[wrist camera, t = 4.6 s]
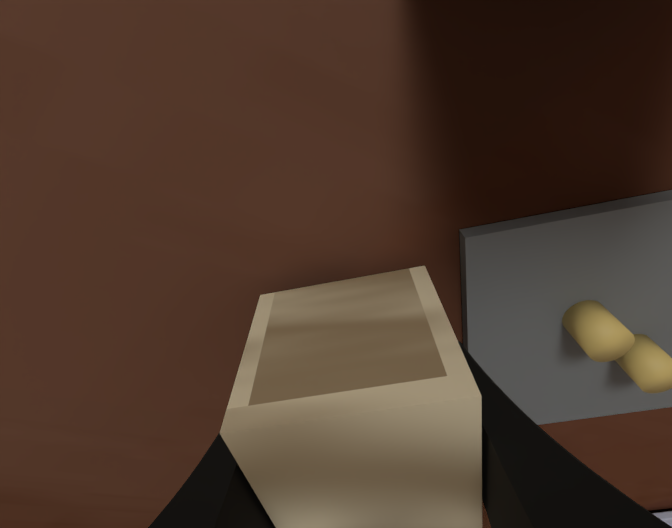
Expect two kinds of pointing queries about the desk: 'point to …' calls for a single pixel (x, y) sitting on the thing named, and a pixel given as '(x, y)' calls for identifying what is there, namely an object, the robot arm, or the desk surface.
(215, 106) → the desk surface
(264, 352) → the box
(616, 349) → the tile
